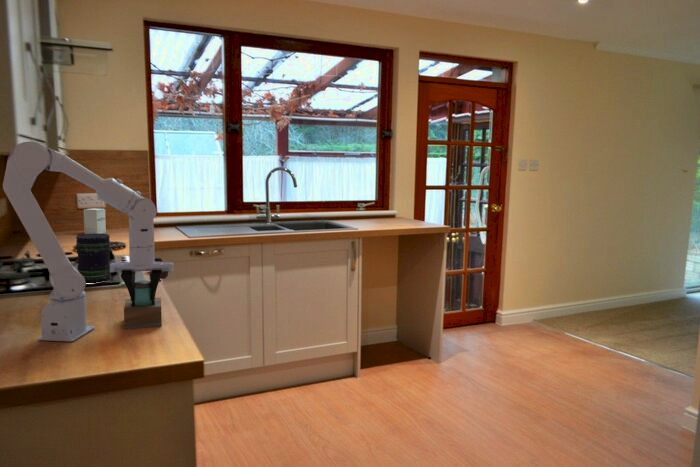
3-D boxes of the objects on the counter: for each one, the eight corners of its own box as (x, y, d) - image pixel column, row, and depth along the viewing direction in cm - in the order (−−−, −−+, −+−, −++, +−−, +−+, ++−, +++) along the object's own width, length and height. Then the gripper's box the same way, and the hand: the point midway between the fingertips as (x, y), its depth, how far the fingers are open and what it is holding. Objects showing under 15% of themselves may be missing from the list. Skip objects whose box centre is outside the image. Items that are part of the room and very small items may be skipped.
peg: (143, 313, 124) (142, 285, 123) (130, 310, 126) (130, 283, 125) (155, 309, 128) (155, 281, 127) (143, 306, 130) (142, 279, 129)
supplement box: (97, 234, 256) (96, 209, 254) (83, 234, 257) (82, 209, 256) (106, 232, 264) (105, 208, 262) (93, 232, 265) (92, 207, 263)
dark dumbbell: (161, 285, 171) (153, 274, 183) (174, 277, 172) (166, 267, 185) (151, 271, 168) (145, 261, 181) (165, 263, 170) (157, 254, 183)
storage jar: (74, 279, 167) (72, 234, 165) (106, 276, 173) (105, 232, 171) (81, 286, 159) (80, 239, 157) (115, 282, 166) (113, 236, 163)
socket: (161, 326, 125) (161, 306, 124) (124, 329, 122) (123, 309, 121) (161, 316, 133) (160, 297, 132) (126, 318, 130) (125, 299, 129)
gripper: (105, 248, 119) (107, 304, 121) (170, 248, 122) (171, 303, 124) (113, 243, 126) (114, 296, 128) (174, 243, 129) (175, 295, 131)
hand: (143, 299), depth 127 cm, fingers closed on peg, 4 cm apart
